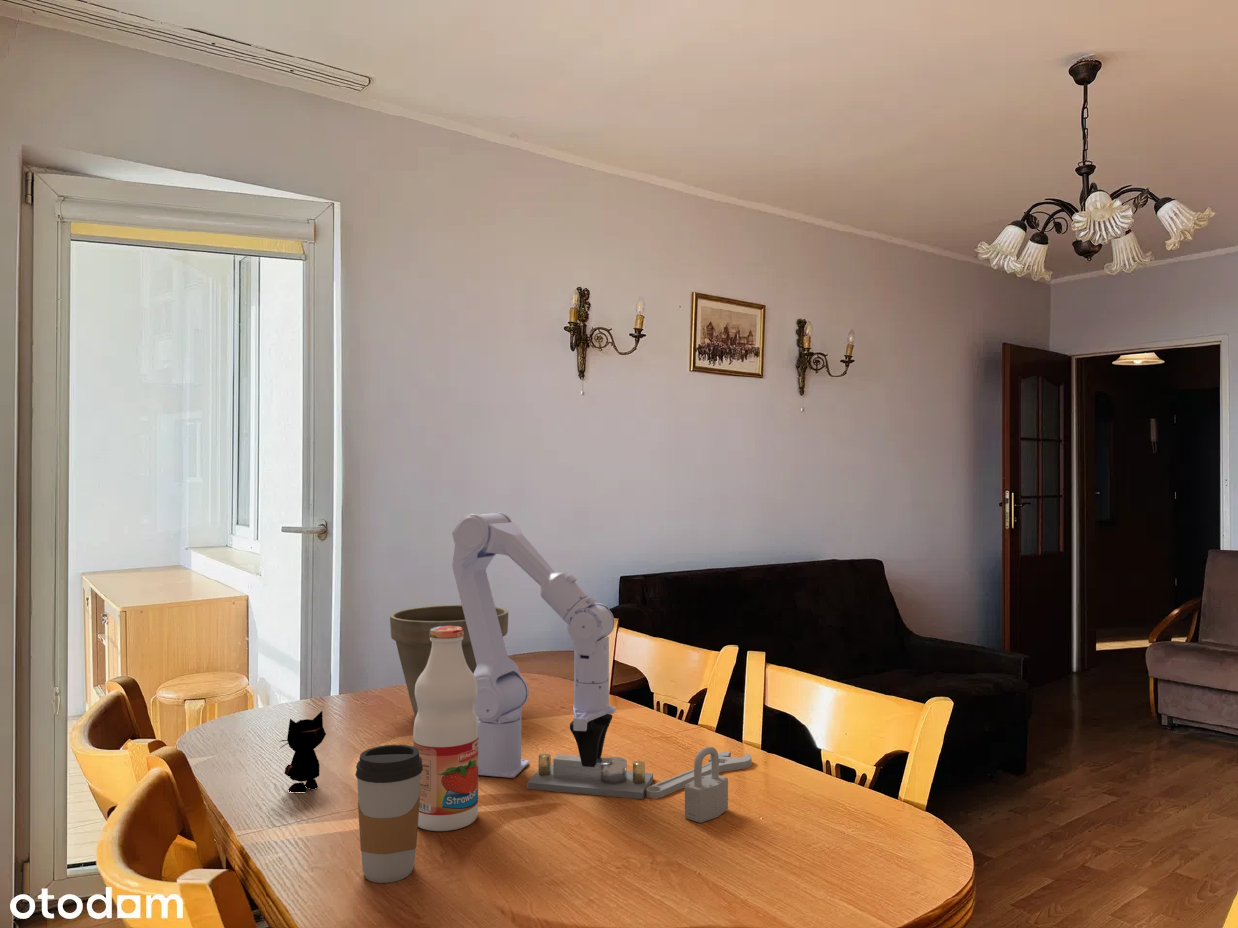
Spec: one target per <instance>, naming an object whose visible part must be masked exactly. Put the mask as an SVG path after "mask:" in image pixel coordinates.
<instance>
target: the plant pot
mask: <svg viewBox="0 0 1238 928" xmlns="http://www.w3.org/2000/svg"><path fill="white" fill-rule="evenodd" d="M495 609H496V612H497V616H498V620H499V624H500V628H501V632H502V636H503V637H504V636H506V635H507V634H508V631H509V611H508V610H507V609H505V608H503V607H498V606H495ZM389 625H390V626H389V627H390V637H391V639H392V640H393V641H395V643H396V648H397V653H398V656H399V660H400V664H401V669H402V672H403V673H402V674H403V677H404V682H405V684H406V689H407V692H408V696H409V701H410V704H411V708H412V711H413V714H414V716H415V717H416V715H417V712H418V706H417V702H416V699H415V684H416V681H417V679H418V677H419V676H420V675H421V673H422V672H423V671H424V669H425V667H426V665H427V662H428V659H429V656H430V653H431V648H432V641H431V640H430V629H431V628H434V627H439V626H458V627H462V628H463V631H464V635H463V640H462V641H461V645H462V650H463V654H464V657H465V660H466V663H467V665H468V667H469V669H470V670H471V671H472V673H473V674H474V671H475V669H476V667H477V664H476V660H475V656H474V652H473V648H472V644H471V640H470V636H469V632H468V628H467V624H466V620H465V616H464V612H463V608H462V604H445V605H444V604H443V605H430V606H429V605H428V606H420V607H411V608H406V609H401V610H397V611H395V612H393V613H391V614H390V615H389Z"/></svg>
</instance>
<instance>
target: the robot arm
mask: <svg viewBox="0 0 1238 928" xmlns="http://www.w3.org/2000/svg"><path fill="white" fill-rule="evenodd" d="M452 538H453V541H454V548H453V549H454V550H453V556H452V557H453V558H452V572H453V575H454V579H455V582H456V588H457V592H458V595H459V599H460V605H462V608H463V612H464V616H465V620H466V624H467V628H468V632H469V636H470V640H471V644H472V648H473V652H474V656H475V660H476V664H477V667H476V669H475V671H474V676H475V678H476V680H477V686H478V692H477V697H476V701H475V704H474V709H475V712H476V714H477V718H478V729H479V737H478V776H487V777H496V778H497V777H498V778H499V777H500V778H508V779H510V778H511V779H513V778H516V777H517V776H518V775H519V773H520V772H522V771H523V770H524V769H525V767H527V766H528V765H529V764H530V760H529V759H522V713H523V707H524V705H526V703H527V701H528V699H529V696H530V695H529V694H530V692H529V691H530V690H529V685H528V683H527V681H526V680H525V678H524V677H523V675H522V674H521V672H520V669H519V666H518V665H519V664H517V663H516V662H515V661H514V660H512V658H510V657H509V656H508V652H507V648H506V645H505V640H504V636H502V632H501V628H500V624H499V620H498V616H497V612H496V609H495V607H496V606H495V600H494V597H493V593H492V589H491V585H490V581H489V577H488V573H487V568H488V567H489V565H490V564H491V562H492V560H493V558H494V557H495V556H496V555H501V556H502V555H503V556H507V557H509V558H510V559H511V560H512V561H513V562H514V563H515V564H516V565H517V566H519V568H521V569H522V570H523V571H524V572H525V573H526V574H527V575H528V576H529V577H530V578H531V579H533V580H534V582H536V583H537V584H538V585H539V586H540V597H541V598H542V599H543V600H544V602H546V604H547V605H548V606H549V607H550V608H551V609H552V610H553V611H554V612H555V613H556V614H557V615H558V616H559V617H560V618H561V619H562V620H563V621H564V622H565V624H567V632H568V635H569V636H570V638H571V640H572V642H573V646H574V647H573V649H574V650H573V651H574V653H573V658H574V660H573V661H574V662H573V663H574V664H573V665H574V666H573V668H574V669H573V670H574V671H573V675H574V677H573V706H572V714H573V717H574V718H573V720H572V721H571V722H570V723H569V729H570V732H571V733H572V735H573V737H574V740H575V742H576V745H577V748H578V749H577V750H578V754H579V756H580V759H581V763H582V766H585V767H595V765H596V762H597V757H601V758H602V755H603V750H604V749H603V748H604V743H605V739H606V735H607V732H608V729H609V726H610V724H611V722H612V720H613V714H615V712H616V711H617V707H616V706H615V705H614V706H611V705H610V704H609V702H610V698H609V697H610V692H609V691H610V689H609V688H610V637H609V636H610V634H611V633H612V632H613V630H614V628H615V617H614V614H613V613H612V611H611V610H610V608H609V606H608V605H606V604H604V603H601V602H600V603H599V602H596V598H594V597H593V596H589V595H588V594H587V593H586V591H584V589H582V588H581V587H580V585H578V583H576V582H577V581H578V579H577V578H576V577H575V576H574V575H573V574H568V573H566V572H564V571H563V572H562V571H561V572H556V570H555V569H553V567H552V566H551V565H550V564H549V563H548V562H547V560H545V558H544V557H543V556H542V555H541V553H539V551H538V550H537V549H536V548H535V547H534V546H533V544H532V543H531V542H530V541H529V540H528V539H527V537H526V536H524V534H523V533H522V530H521V528H520V525H518V524H517V523H516V522H514V521H513V520H512V519H511V518H510V516H509V515H508V514H506V513H504V512H500V511H498V512H497V511H496V512H492V513H482V514H476V513H469V514H466V515H464V516H462V517H461V519H460V520H459V521H458V523H457V525H456V526H455V528H454V529H453V531H452Z"/></svg>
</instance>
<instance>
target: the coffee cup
mask: <svg viewBox="0 0 1238 928" xmlns="http://www.w3.org/2000/svg"><path fill="white" fill-rule="evenodd" d="M355 769H356V771H355V774H354V775H355V777H356V781H357V784H356V785H357V796H358V797H357V799H358V800H357V810H358V811H357V813H358V823H359V824H358V825H359V827H358V828H359V843H360V852H361V864H362V865H361V866H362V868H361V869H362V872H363V874H364V876H365V878H366V879H367V880H368V881H369V882H373V883H379V884H380V883H381V884H383V883H384V884H386V883H387V884H388V883H393V882H397V881H401V880H403V879H406V878H407V877H409V875H410V874H411V873H412V872H413V869H414V867H415V861H416V859H415V858H416V848H417V842H418V832H419V830H418V829H419V827H418V817H419V804H420V796H419V794H420V780H421V772H422V771H423V766H422V758H421V757H420V756H419V750H418V749H417V748H415V747H413V746H412V745H407V744H385V745H379V746H374V747H371V748H368V749H366V750H364V751H362V752H361V753H360V755H359V760H358V761H357V763H356V767H355Z"/></svg>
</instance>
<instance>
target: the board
mask: <svg viewBox="0 0 1238 928" xmlns="http://www.w3.org/2000/svg"><path fill="white" fill-rule="evenodd" d="M653 780H654V773H653V772H645V783H643V784H635V783H633V770H631V771H630V770H627V781H626V782H624V783H622V784H615V785H611V784H605V783H602V782H600V781H589V780H577V779H566V778H554V777H553V764H551V774H550V775H548V776H541V775H539V769H538V770H537V771H536V772H535V774H533V775H532V777H530V779H529V780H528V781H526V782H527V783H526V789H528V790H538V791H548V792H549V791H550V792H559V793H560V792H561V793H569V794H570V793H571V794H581V795H582V794H583V795H592V796H594V795H595V796H603V797H605V796H606V797H614V798H615V797H616V798H625V799H626V798H627V799H628V798H629V799H635V800H636V799H639V800H643V798H644V797H645V796H646V788H647V787H649V786H651V785H652V783H653Z"/></svg>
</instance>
